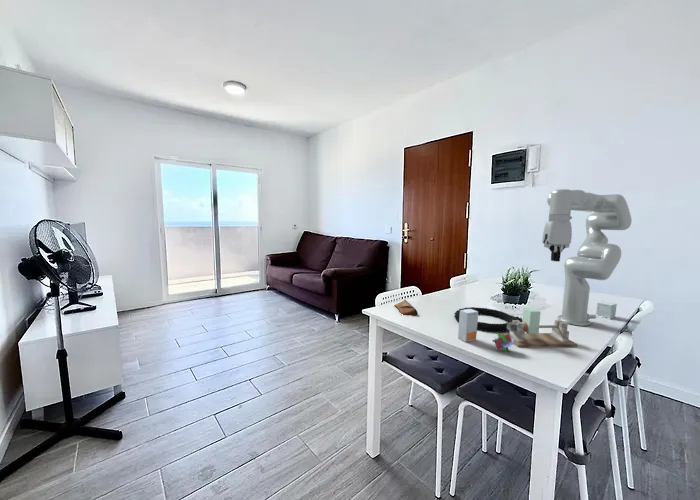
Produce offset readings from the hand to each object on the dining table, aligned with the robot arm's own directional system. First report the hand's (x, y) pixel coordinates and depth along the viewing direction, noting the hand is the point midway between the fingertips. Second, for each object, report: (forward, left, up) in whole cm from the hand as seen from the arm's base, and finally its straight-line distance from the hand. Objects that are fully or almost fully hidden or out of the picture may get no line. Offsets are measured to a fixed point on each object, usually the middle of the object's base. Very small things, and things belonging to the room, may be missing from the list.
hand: (555, 260), depth 128 cm
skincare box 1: (+42, +10, -31) cm, 53 cm away
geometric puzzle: (+33, +20, -31) cm, 50 cm away
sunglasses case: (+59, -28, -32) cm, 72 cm away
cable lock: (+23, -10, -32) cm, 40 cm away
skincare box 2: (-43, -17, -31) cm, 56 cm away
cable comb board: (+14, +12, -31) cm, 36 cm away
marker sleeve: (+17, +12, -27) cm, 34 cm away
